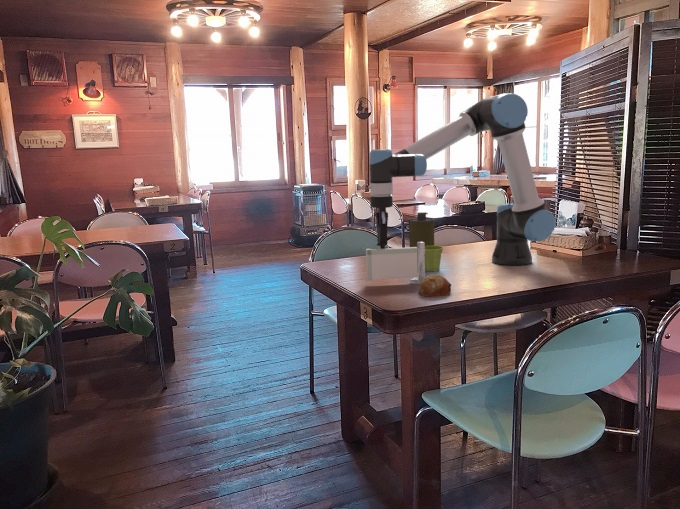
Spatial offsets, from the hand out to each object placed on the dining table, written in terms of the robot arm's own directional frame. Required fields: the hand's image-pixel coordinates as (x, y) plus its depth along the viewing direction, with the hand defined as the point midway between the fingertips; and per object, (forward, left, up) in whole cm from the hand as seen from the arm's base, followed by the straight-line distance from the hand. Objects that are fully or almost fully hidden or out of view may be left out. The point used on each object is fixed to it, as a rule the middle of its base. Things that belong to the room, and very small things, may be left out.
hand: (382, 263), depth 193 cm
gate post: (-12, -5, -7) cm, 15 cm away
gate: (-4, +1, -5) cm, 6 cm away
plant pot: (-6, -25, -7) cm, 27 cm away
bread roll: (-23, +6, -7) cm, 24 cm away
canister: (+5, -39, -7) cm, 40 cm away
